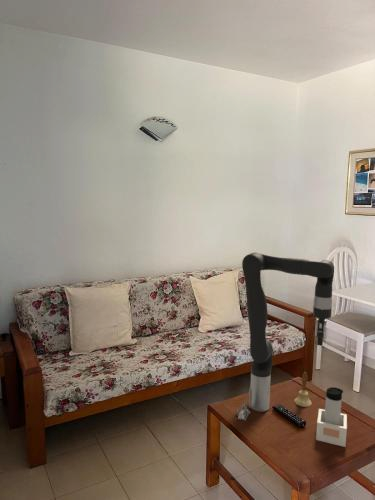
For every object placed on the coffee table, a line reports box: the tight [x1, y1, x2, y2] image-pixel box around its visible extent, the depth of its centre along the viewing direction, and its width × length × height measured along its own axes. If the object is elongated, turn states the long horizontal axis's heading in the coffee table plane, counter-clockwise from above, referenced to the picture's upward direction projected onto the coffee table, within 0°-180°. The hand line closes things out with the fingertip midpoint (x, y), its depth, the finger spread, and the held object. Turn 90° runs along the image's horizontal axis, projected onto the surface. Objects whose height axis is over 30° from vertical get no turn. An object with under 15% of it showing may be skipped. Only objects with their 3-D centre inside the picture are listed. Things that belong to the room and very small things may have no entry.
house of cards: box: [236, 401, 251, 421], centre depth 177 cm, size 9×9×8 cm
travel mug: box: [324, 387, 344, 426], centre depth 161 cm, size 6×7×20 cm
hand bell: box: [293, 371, 313, 408], centre depth 187 cm, size 8×8×16 cm
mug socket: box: [315, 408, 348, 448], centre depth 161 cm, size 11×12×8 cm
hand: (320, 341), depth 167 cm, fingers open, 8 cm apart
